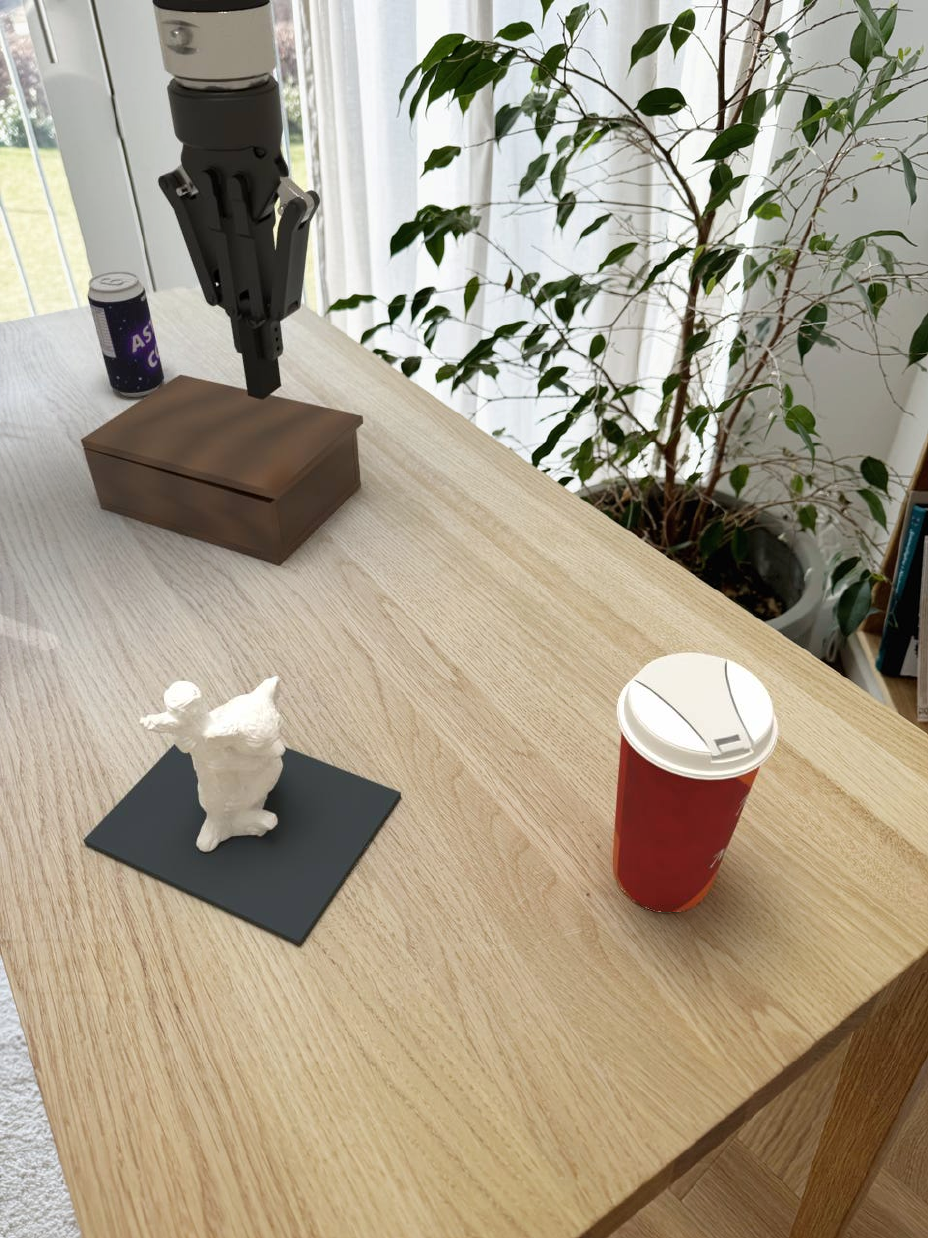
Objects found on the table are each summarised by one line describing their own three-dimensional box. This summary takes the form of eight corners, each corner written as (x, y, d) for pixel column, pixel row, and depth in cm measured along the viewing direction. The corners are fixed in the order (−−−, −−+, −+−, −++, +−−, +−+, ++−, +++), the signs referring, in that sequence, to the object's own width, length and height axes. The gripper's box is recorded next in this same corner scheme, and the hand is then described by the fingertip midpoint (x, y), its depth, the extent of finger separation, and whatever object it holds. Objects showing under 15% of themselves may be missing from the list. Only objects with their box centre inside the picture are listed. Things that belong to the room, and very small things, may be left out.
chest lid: (363, 423, 87) (362, 415, 86) (277, 500, 78) (275, 491, 77) (181, 381, 94) (179, 374, 93) (82, 447, 85) (80, 439, 84)
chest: (361, 486, 92) (356, 427, 87) (279, 565, 82) (269, 503, 78) (193, 439, 98) (181, 382, 94) (100, 508, 89) (82, 448, 85)
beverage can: (147, 403, 104) (121, 294, 96) (101, 395, 105) (72, 286, 97) (175, 380, 108) (153, 273, 100) (131, 372, 109) (105, 266, 101)
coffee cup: (755, 911, 57) (816, 739, 47) (626, 947, 55) (661, 776, 46) (691, 802, 63) (732, 630, 53) (573, 832, 61) (593, 659, 52)
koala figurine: (198, 883, 58) (157, 749, 50) (157, 809, 62) (113, 674, 54) (324, 819, 62) (303, 684, 54) (277, 752, 66) (252, 618, 58)
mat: (84, 845, 61) (82, 840, 60) (203, 718, 69) (202, 713, 69) (300, 946, 55) (299, 942, 55) (401, 797, 64) (401, 792, 63)
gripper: (109, 76, 66) (173, 392, 81) (270, 100, 61) (305, 429, 77) (180, 54, 71) (228, 356, 86) (333, 75, 66) (354, 388, 82)
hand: (264, 390), depth 81 cm, fingers closed
